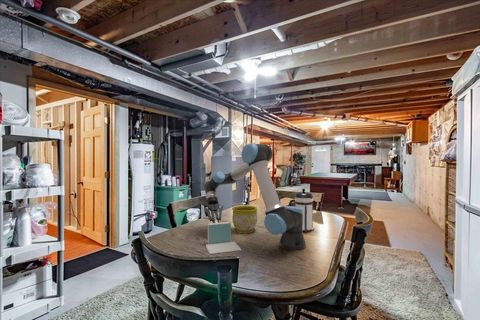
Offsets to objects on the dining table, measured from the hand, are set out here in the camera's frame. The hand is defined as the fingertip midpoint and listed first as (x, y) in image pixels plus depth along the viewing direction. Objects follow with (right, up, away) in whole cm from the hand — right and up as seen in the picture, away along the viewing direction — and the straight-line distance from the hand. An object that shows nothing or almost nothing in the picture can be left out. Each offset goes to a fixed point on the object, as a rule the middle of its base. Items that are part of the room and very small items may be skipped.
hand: (217, 229), depth 156 cm
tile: (+2, -7, -4) cm, 8 cm away
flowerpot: (+18, -6, +20) cm, 27 cm away
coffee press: (+59, -6, +22) cm, 63 cm away
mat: (+4, -7, -13) cm, 15 cm away
